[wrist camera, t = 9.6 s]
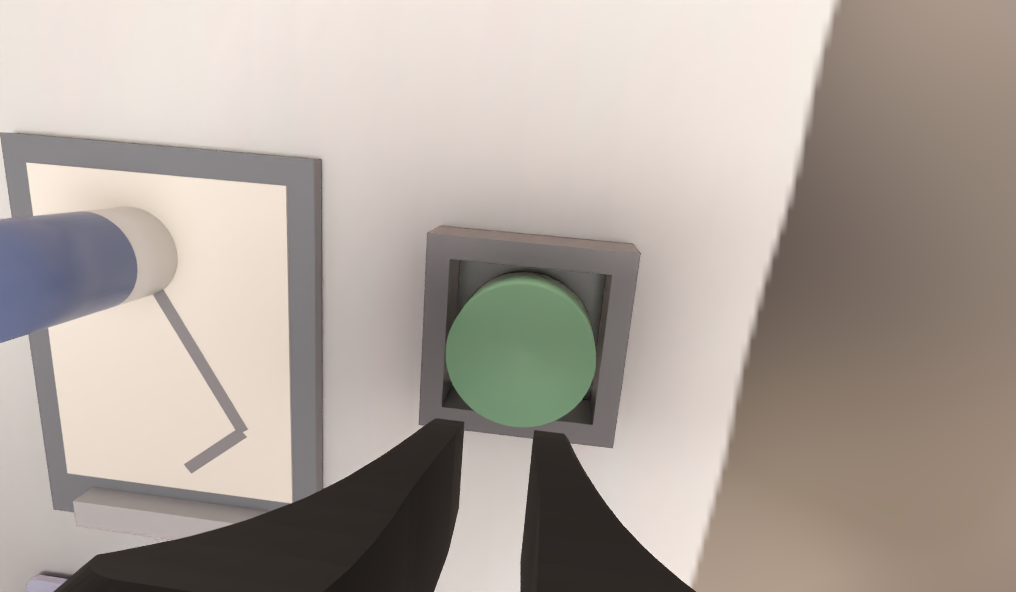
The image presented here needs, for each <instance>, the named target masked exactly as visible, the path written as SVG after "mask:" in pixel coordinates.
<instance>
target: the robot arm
mask: <svg viewBox="0 0 1016 592" xmlns="http://www.w3.org/2000/svg"><path fill="white" fill-rule="evenodd" d="M463 435H464V422H463V421H455V420H447V419H438V418H435V419H434V420H432V421H431V422H429V423H428V424H426V425H425V426H424V427H422V428H421V429H419V430H418V431H417V432H415V433H414V434H413V435H411V436H410V437H408V438H407V439H406V440H404V441H403V442H401V443H400V444H398V445H397V446H396V447H394V448H393V449H391V450H390V451H388V452H387V453H385V454H384V455H382V456H381V457H379V458H377V459H376V460H374V461H373V462H371V463H369V464H368V465H366V466H364V467H363V468H361V469H359V470H358V471H356V472H354V473H353V474H351V475H349V476H348V477H346V478H344V479H342V480H340V481H338V482H336V483H335V484H333V485H331V486H329V487H327V488H325V489H322V490H320V491H318V492H316V493H314V494H312V495H310V496H307V497H305V498H303V499H301V500H298V501H296V502H293V503H291V504H288V505H285V506H283V507H280V508H277V509H275V510H272V511H269V512H267V513H264V514H261V515H259V516H256V517H253V518H251V519H248V520H245V521H241V522H238V523H235V524H232V525H228V526H225V527H222V528H218V529H215V530H211V531H207V532H204V533H200V534H196V535H192V536H188V537H184V538H180V539H176V540H172V541H167V542H162V543H157V544H152V545H147V546H142V547H137V548H132V549H127V550H122V551H117V552H111V553H105V554H99V555H96V556H95V557H94V558H92V559H91V560H90V561H89V562H88V563H86V564H85V565H84V566H83V567H82V568H80V569H79V570H78V571H77V572H76V573H75V574H73V575H72V576H71V577H70V578H69V579H64V578H58V577H51V576H44V575H37V576H35V577H33V578H32V579H31V580H30V581H28V583H27V592H434V590H435V587H436V585H437V582H438V579H439V576H440V574H441V571H442V568H443V565H444V563H445V560H446V557H447V554H448V551H449V547H450V543H451V539H452V535H453V531H454V526H455V522H456V518H457V513H458V509H459V495H460V480H461V465H462V450H463ZM521 592H696V591H694V590H693V589H692V588H690V587H689V586H688V585H687V584H685V583H684V582H683V581H681V580H680V579H679V578H678V577H677V576H676V575H674V574H673V573H672V572H671V571H670V570H669V569H667V568H666V567H665V566H664V565H663V564H662V563H660V562H659V561H658V560H657V559H656V558H655V557H654V556H653V555H652V554H651V553H650V552H648V551H647V550H646V549H645V548H644V547H643V546H642V545H641V544H640V543H639V542H638V541H637V539H636V538H635V537H634V536H633V535H632V534H631V533H630V532H629V531H628V530H627V529H626V528H625V527H624V526H623V525H622V523H621V522H620V521H619V520H618V518H617V517H616V516H615V515H614V513H613V512H612V511H611V509H610V508H609V507H608V505H607V504H606V503H605V501H604V500H603V498H602V497H601V496H600V494H599V493H598V491H597V490H596V488H595V487H594V485H593V484H592V482H591V480H590V479H589V477H588V476H587V474H586V472H585V471H584V469H583V467H582V466H581V464H580V462H579V460H578V458H577V457H576V455H575V453H574V451H573V449H572V446H571V444H570V442H569V439H568V438H567V437H566V435H565V434H563V433H555V432H547V431H538V430H534V436H533V445H532V455H531V465H530V474H529V484H528V494H527V504H526V514H525V524H524V534H523V543H522V553H521Z"/></svg>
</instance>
